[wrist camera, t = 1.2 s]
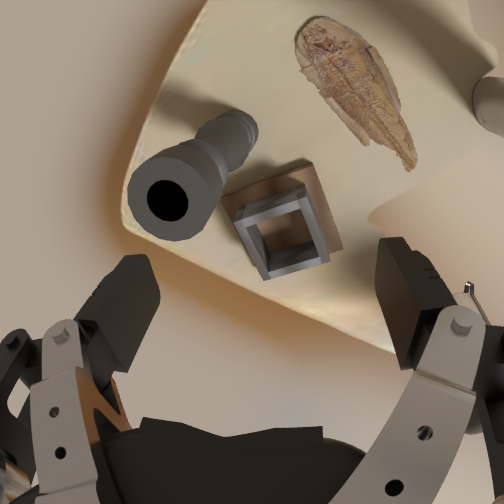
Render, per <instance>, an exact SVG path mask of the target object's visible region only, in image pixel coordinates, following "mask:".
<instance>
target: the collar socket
mask: <svg viewBox="0 0 504 504" xmlns="http://www.w3.org/2000/svg"><path fill="white" fill-rule="evenodd" d="M221 202H222V203H223V205H224V207H225V209H226V211H227V213H228V215H229V217H230V219H231V221H232V223H233V224H234V226H235V228H236V230H237V232H238V234H239V236H240V238H241V240H242V242H243V243H244V245H245V247H246V249H247V251H248V253H249V255H250V257H251V259H252V261H253V263H254V264H255V266H256V268H257V270H258V272H259V274H260V275H261V277H262V279H263V281H265V280H269V279H272V278H275V277H279V276H282V275H286V274H289V273H293V272H296V271H299V270H303V269H306V268H309V267H313V266H316V265H319V264H323V263H326V262H329V261H330V257H329V254H330V253H333V252H336V251H339V250H343V248H342V244H341V241H340V238H339V235H338V232H337V229H336V226H335V223H334V220H333V217H332V214H331V212H330V209H329V206H328V203H327V200H326V197H325V195H324V192H323V189H322V187H321V184H320V181H319V179H318V176H317V173H316V171H315V168H314V166H313V163H310V164H307V165H305V166H302V167H299V168H296V169H293V170H291V171H288V172H285V173H282V174H280V175H277V176H274V177H272V178H269V179H266V180H264V181H261V182H259V183H256V184H253V185H251V186H248V187H246V188H243V189H241V190H238V191H235V192H233V193H230V194H228V195H226V196H223V197H222V199H221Z"/></svg>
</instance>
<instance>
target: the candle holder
mask: <svg viewBox="0 0 504 504" xmlns="http://www.w3.org/2000/svg"><path fill="white" fill-rule="evenodd" d="M258 132H259V131H258V127H257V123H256V122H255V120H254V119H253V118H252V117H251V116H250V115H248V114H247V113H245V112H242V111H235V110H234V111H231V112H227V113H224V114H222V115H220V116H219V117H218V118H217V119H215V120H212V121H209V122H207V123H206V124H205V125H203V126H202V127H201V128H200V129H199V130H198V132H197V134H196V136H195V138H194V139H191V140H188V141H185V142H181V143H180V144H178V145H176V146H173V147H170V148H167V149H164V150H162V151H161V152H159V153H157V154H156V155H154V156H153V157H151V158H149V159H148V160H146V161H145V162H143V163H142V164H141V165H140V166H139V167H138V168H137V169H136V170H135V171H134V172H133V174H132V176H131V179H130V182H129V184H128V187H127V192H128V204H129V207H130V209H131V212H132V214H133V216H134V218H135V220H136V221H137V222H138V223H139V224H140V225H141V226H142V228H143V229H144V230H145V231H147V232H149V233H150V234H152V235H154V236H156V237H157V238H159V239H164V240H169V241H174V242H175V241H181V240H186V239H190V238H192V237H193V236H195V235H196V234H198V233H199V232H200V231H202V230H203V228H204V226H205V225H206V223H207V221H208V220H209V218H210V216H211V214H212V212H213V211H214V209H215V207H216V205H217V204H218V202H219V200H220V198H221V193H222V189H223V187H224V185H225V184H226V182H227V177H228V172H232V171H234V170H235V169H237V168H238V167H240V166H241V165H242V164H243V163H244V161H245V159H246V158H247V156H248V154H249V152H250V151H251V149H252V148H253V146H254V144H255V143H256V141H257V138H258Z"/></svg>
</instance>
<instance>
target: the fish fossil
mask: <svg viewBox="0 0 504 504" xmlns="http://www.w3.org/2000/svg"><path fill="white" fill-rule="evenodd" d="M295 48H296V50H295V52H296V56H297V61H298V62H299V63H300V67H302V69H301V71H300V70H299V71H300V72H302V73H303V74H304V75H305V76H306V78H307V80H308V81H310V82H312V83H313V84H314V85H315V86H316V87H317V89H320V90H321V91H319V93H320V95H321V96H322V97H323V98H324V100H325V101H326V103H327V104H328V105H329V106H330V107H331V109H332V110H333V111H334V112H335V113H336V114H337V115H338V116H339V118H340V119H341V120H342V121H343V123H345V124H346V126H347V127H348V129H349V130H350V131H352V132H353V134H354V135H355V136H356V137H357V138H358V139H359V141H360V142H361V143H362V144H363V145H364V146H368V145H369V138H370V139H373V140H374V141H375V142H376V143H378V144H380V145H382V144H383V145H385V146H386V147H388V148H390V149H393V150H395V151H396V152H397V153H396V156H399V157H400V158H401V160H402V162H403V166H405V170H406V171H408V172H411V170H412V169H414V168H415V166H416V163H417V154H416V151H415V148H414V145H413V141H412V138H411V135H410V133H409V131H408V129H407V126H406V124H405V123H404V121H403V119H402V117H401V116H400V114H399V111H401V109H400V108H401V103H400V99H399V98H398V93H397V88H396V86H395V84H394V82H393V80H392V77H391V75H390V73H389V71H388V69H387V67H386V65H385V64H384V62H383V59H382V58H381V56H380V55H379V53H378V51H377V50H376V48H374V47H373V46H371V45H369V44H368V43H367V41H366V40H364V39H363V38H362V36H361V35H360V34H359V33H357V32H355V31H354V30H352V29H350V28H348V27H347V26H344V25H342V24H340V23H339V22H337V21H336V20H332V19H330V18H329V17H318V18H315V19H313V20H312V21H311V22H308V24H307V25H306V26H305V27H304V28H303V30H302V31H301V32H300V33H299V34H298V37H297V41H296V45H295Z"/></svg>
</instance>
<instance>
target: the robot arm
mask: <svg viewBox="0 0 504 504" xmlns="http://www.w3.org/2000/svg"><path fill="white" fill-rule="evenodd" d="M473 107H474V111H475V115H476V117H477V119H478V121H479V122H480V124H481V125H482V126H483V127H484V128H485V129H486V130H488V131H490V132H492V133H494V134H497V135H499V136H501V137H503V138H504V78H497V77H485V78H482V79H481V80H480V81H479V82H478V83H477V85H476V86H475V89H474V93H473ZM375 290H376V295H377V298H378V301H379V304H380V306H381V309H382V312H383V315H384V318H385V321H386V324H387V327H388V330H389V333H390V336H391V339H392V342H393V345H394V349H395V352H396V355H397V359H398V362H399V365H400V368H401V370H406V369H412V368H413V370H414V373H413V374H412V377H411V379H410V381H409V382H408V385H407V386H406V388H405V390H404V392H403V394H402V396H401V398H400V400H399V402H398V403H397V405H396V407H395V409H394V410H393V412H392V414H391V416H390V418H389V419H388V421H387V422H386V424H385V426H384V427H383V429H382V431H381V432H380V434H379V435H378V437H377V439H376V440H375V442H374V443H373V445H372V446H371V448H370V449H369V451H368V452H367V453H365V452H364V451H362V450H360V449H358V448H356V447H354V446H353V445H350V444H347V443H345V442H341V441H338V440H334V439H329V438H323V429H322V426H318V427H317V426H316V427H298V428H272V429H268V430H263V431H258V432H253V433H248V434H243V435H237V436H231V437H222V436H218V435H215V434H212V433H209V432H206V431H203V430H200V429H197V428H194V427H192V426H189V425H186V424H184V423H180V422H173V421H165V420H159V419H152V418H146V417H143V418H142V421H141V424H140V427H139V428H136V429H132V427H131V426H130V424H129V422H128V419H127V417H126V414H125V411H124V408H123V405H122V402H121V399H120V396H119V393H118V390H117V386H116V383H115V380H114V379H113V378H112V374H113V372H114V371H118V372H125V373H127V372H128V370H129V368H130V366H131V364H132V361H133V359H134V357H135V355H136V353H137V350H138V348H139V346H140V344H141V342H142V340H143V338H144V335H145V333H146V331H147V329H148V327H149V325H150V323H151V321H152V319H153V317H154V315H155V313H156V310H157V308H158V306H159V304H160V290H159V287H158V284H157V281H156V279H155V276H154V273H153V270H152V267H151V264H150V261H149V259H148V257H147V256H146V255H145V254H136V255H126V256H124V257H123V259H122V260H121V261H120V262H119V264H118V265H117V266H116V267H115V269H114V270H113V271H112V272H110V273H109V274H108V275H107V276H105V277H104V278H103V280H102V281H101V282H100V283H99V285H98V286H97V288H96V289H95V290H94V291H93V293H92V296H90V297H89V298H88V300H87V301H86V302H85V304H84V305H83V307H82V308H81V309H80V311H79V312H78V313H77V315H76V316H75V318H74V319H73V320H71V319H66V320H62V321H59V322H57V323H56V324H54V325H53V326H51V327H50V328H49V329H48V330H47V332H46V333H45V335H44V337H43V338H42V339H37V340H32V339H31V337H30V336H29V334H28V333H27V331H26V330H24V329H16V330H14V331H12V332H10V333H9V334H8V335H7V336H6V337H5V338H4V339H3V340H2V342H1V343H0V504H432V502H433V501H434V499H435V497H436V495H437V493H438V491H439V489H440V488H441V485H442V484H443V482H444V480H445V477H446V475H447V473H448V471H449V469H450V467H451V465H452V463H453V460H454V458H455V456H456V453H457V451H458V449H459V446H460V444H461V441H462V438H463V436H464V433H465V430H466V428H467V425H468V422H469V419H470V416H471V413H472V410H473V407H474V403H476V407H477V410H478V414H479V418H480V422H481V425H482V429H483V433H484V438H485V442H486V447H487V451H488V457H489V462H490V468H491V473H492V480H493V487H494V495H495V501H494V502H493V503H492V504H504V327H501V326H491V325H485V324H484V321H483V319H482V318H481V317H480V315H479V314H478V313H476V312H475V311H474V310H472V309H470V308H468V307H465V306H459V305H458V304H457V302H456V301H455V299H454V297H453V296H452V294H451V292H450V291H449V289H448V288H447V286H446V284H445V283H444V281H443V280H442V278H440V275H439V274H438V272H437V271H436V270H435V268H434V266H433V265H432V263H431V262H430V260H429V259H428V258H427V257H426V256H424V255H423V254H421V253H420V252H419V251H412V250H411V249H410V247H409V246H408V244H407V243H406V241H405V240H404V238H403V237H388V238H381V239H380V240H379V245H378V255H377V265H376V274H375ZM19 378H20V379H21V381H22V382H23V383H24V384H25V385H26V386H27V387H28V389H29V390H30V393H29V395H28V397H27V399H26V402H25V403H24V405H23V407H22V410H21V412H20V414H19V416H18V418H16V417H15V416H13V415H12V414H11V413H10V411H9V409H8V406H7V400H8V397H9V395H10V393H11V391H12V390H13V388H14V386H15V384H16V382H17V380H18V379H19ZM36 470H37V476H38V481H39V484H38V485H36V486H35V487H31V484H32V481H33V478H34V475H35V472H36Z"/></svg>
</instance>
